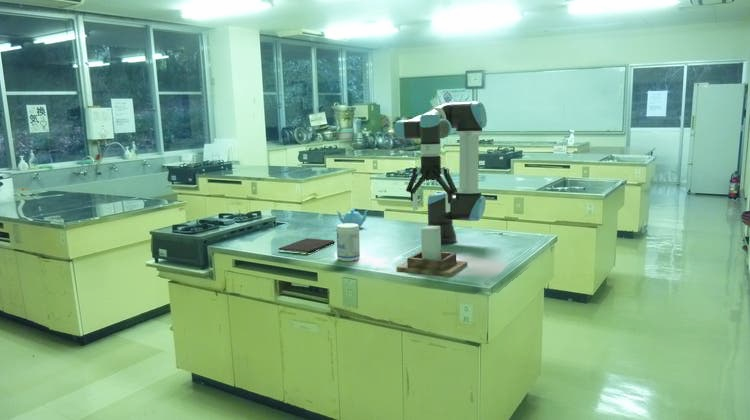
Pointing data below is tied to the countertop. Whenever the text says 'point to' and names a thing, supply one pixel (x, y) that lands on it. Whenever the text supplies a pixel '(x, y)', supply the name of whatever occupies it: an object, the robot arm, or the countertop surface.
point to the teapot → (353, 217)
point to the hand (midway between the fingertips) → (431, 210)
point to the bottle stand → (433, 265)
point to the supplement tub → (348, 242)
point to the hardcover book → (307, 245)
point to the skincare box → (431, 243)
